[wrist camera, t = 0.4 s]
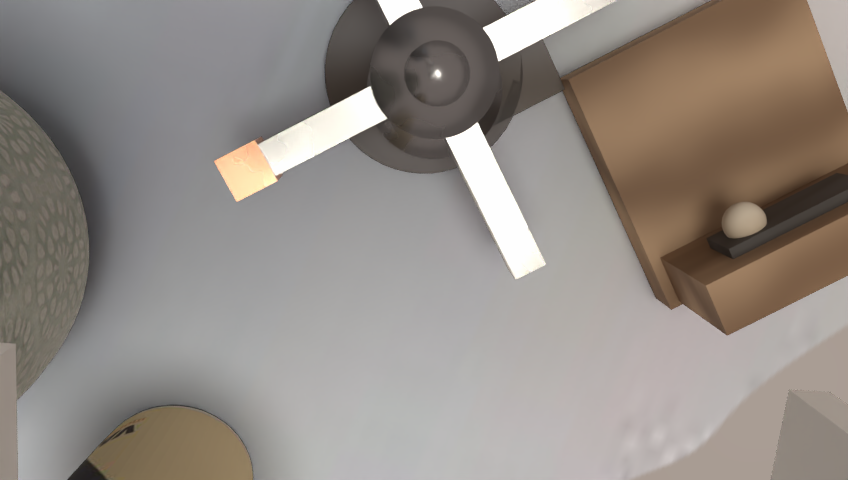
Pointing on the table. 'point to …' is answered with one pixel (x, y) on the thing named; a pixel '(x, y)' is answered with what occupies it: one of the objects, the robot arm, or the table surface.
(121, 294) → the table surface
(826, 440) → the robot arm
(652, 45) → the stand
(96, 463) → the coffee cup
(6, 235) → the planter
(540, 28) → the silver cross-shaped piece
